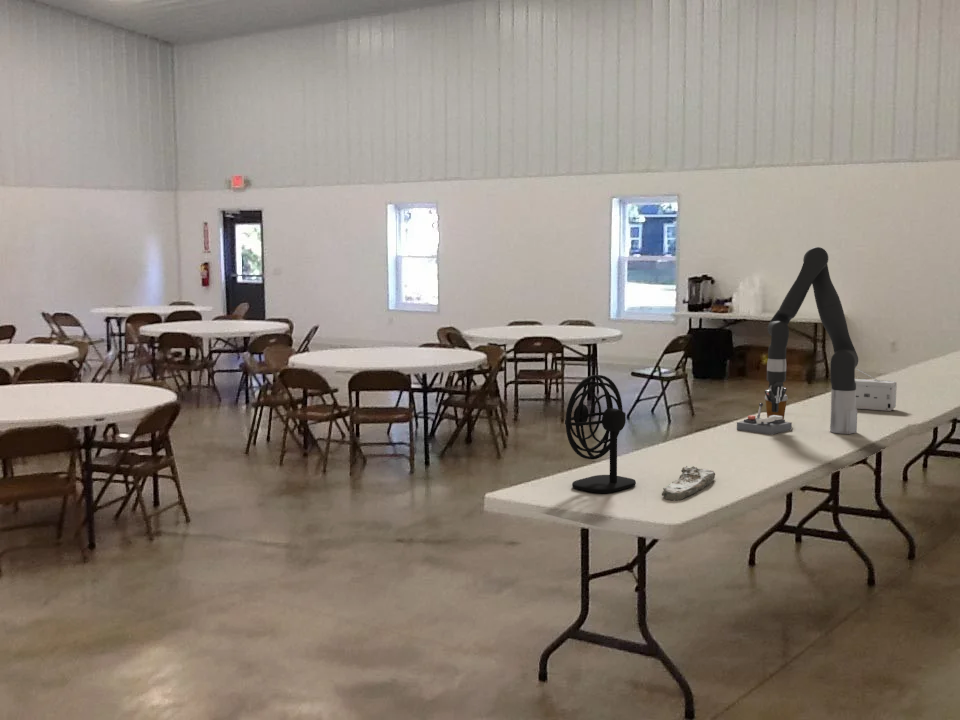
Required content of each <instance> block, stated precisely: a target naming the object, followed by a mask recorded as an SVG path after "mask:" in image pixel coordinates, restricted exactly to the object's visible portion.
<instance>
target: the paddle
mask: <svg viewBox="0 0 960 720" xmlns="http://www.w3.org/2000/svg"><path fill="white" fill-rule="evenodd" d="M770 417H774V420H781V419H783V416H778V415H772V416H769V418H770Z"/></svg>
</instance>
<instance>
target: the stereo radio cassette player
mask: <svg viewBox="0 0 960 720" xmlns="http://www.w3.org/2000/svg"><path fill="white" fill-rule="evenodd" d="M855 370H856V371H859V372H860V373H862V374H863V375H866V376H867V377H870V378H871V379H864V378H855V383H856V402H855V408H856V409H857V410H858V409H859V410H861V409H862V410H871V411H872V410H873V411H874V410H875V411H887V412H890V411H892V410H894V409H895V408H896V406H897V405H896V404H897V385H898V384H897V381H896V380H880V379H877V378H875V377H873V376H872V375H870V374H868V373H866V372H864V371H862V370H860V369H858V368H857V367H856V368H855Z"/></svg>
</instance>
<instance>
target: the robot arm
mask: <svg viewBox="0 0 960 720" xmlns="http://www.w3.org/2000/svg"><path fill="white" fill-rule="evenodd" d="M802 259H803V262H802V266H801V269H800V270H799V271H800V272H799V273H798V276H797V277H796V279H795V281H794V282H793V283H792V285H791V287H790V289H789V290H788V292H787V293H786V295H785V297H784V299H783V300H782V303H781V304H780V307H779V309H778V310H777V311H776V313H775V314H774V315H773V317H772V318H771V319H770V321H769V323H768V325H767V333H768V335H770V336H771V338H770V344H769V346H768V350H767V354H768V355H767V363H766V382H768V389H765V390H764V394H765V395H766V396H767V398H768V401H769V402H771V403H772V412H778V409H779V403H780V401H782V399H783V397H784V395H786V392H787V390H788V389H787V388H786V387H784V382H786V381H787V346H788V341H789V336H790V335H789V334H790V329H789V328H790V327H789V323H790V321H792V319H794V318H796V316H797V314H798V312H799V310H800V308H801V306H802V304H803V303H804V300H805V299H806V297H807V294H808V292H809V290H810V288H811V286H812V288H813V295H814V299H815V303H816V308H817V311H818V315H819V319H820V321H821V324H822V326H823V327H824V329H825V331H826V333H827V334H828V337H829V338H830V340H831V341H830V342H831V344H832V349H833V354H832V356H831V358H830V367H829V368H830V369H829V371H830V373H829V374H830V384H831V391H830V420H829V421H830V423H829V424H830V425H829V426H830V427H829V429H830V430H829V431H830V433H835V434H841V435H842V434H843V435H844V434H846V435H847V434H848V435H850V434H855V433H857V431H858V430H857V429H858V409H857V408H855V402H856V383H855V379H856V378H855V377H856V376H855V375H856V373H855V370H856V369H857V366H858V364H859V356H858V353H857V352H856V348H855V346H854V344H853V341H852V339H851V336H850V334H849V333H850V332H849V329H848V324H847V320H846V316H845V312H844V308H843V305H842V302H841V299H840V296H839V294H838V292H837V290H836V288H835V286H834V284H833V282H832V279H831V276H830V271H829V266H828V263H829V255H828V252H827V250H826V249H824V248H823V247H819V246H815V247H812V248H810V249H808V250H807V251H806V252H805V253H804V255H803V258H802ZM855 368H856V369H855Z"/></svg>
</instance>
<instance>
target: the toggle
mask: <svg viewBox="0 0 960 720" xmlns="http://www.w3.org/2000/svg"><path fill="white" fill-rule="evenodd" d="M758 405H759V407H758V411H757V416H756V418H758V419H759V418H761V417H760V416H761V413H762V409H763V406H764V404H763V402H760V403H758Z"/></svg>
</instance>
